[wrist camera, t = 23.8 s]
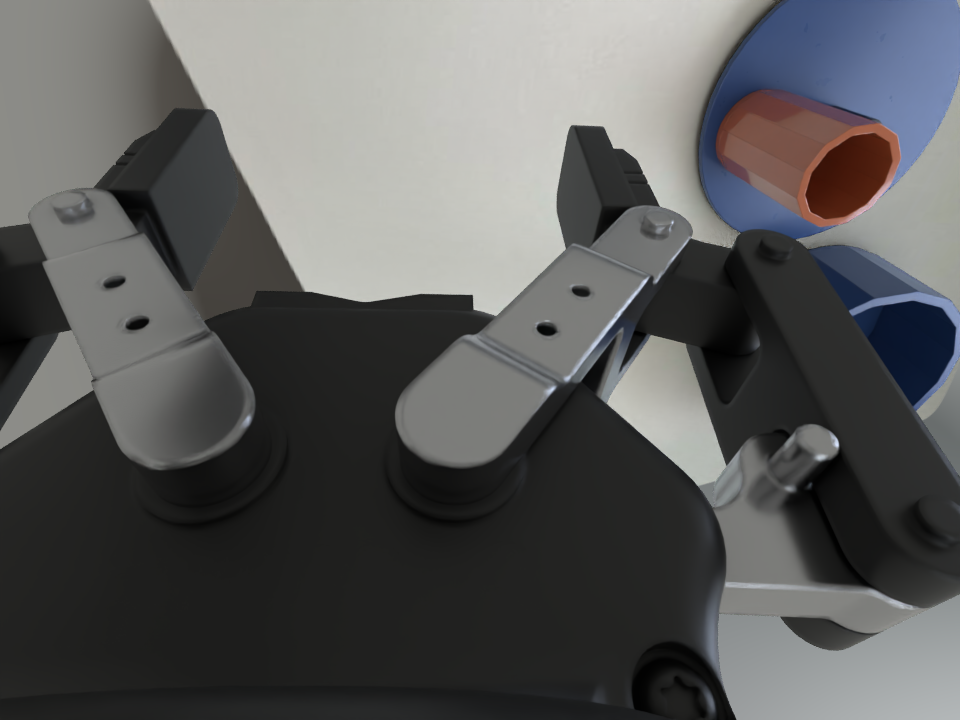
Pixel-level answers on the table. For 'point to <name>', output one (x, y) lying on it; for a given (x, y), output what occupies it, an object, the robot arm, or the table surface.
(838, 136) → the cup
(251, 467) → the robot arm
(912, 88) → the lid
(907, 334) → the pot
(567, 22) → the table surface
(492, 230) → the table surface
